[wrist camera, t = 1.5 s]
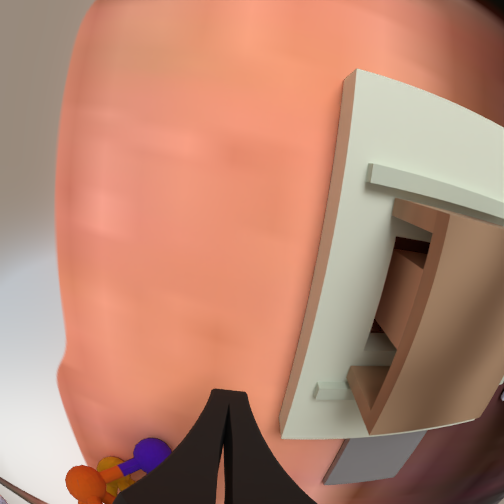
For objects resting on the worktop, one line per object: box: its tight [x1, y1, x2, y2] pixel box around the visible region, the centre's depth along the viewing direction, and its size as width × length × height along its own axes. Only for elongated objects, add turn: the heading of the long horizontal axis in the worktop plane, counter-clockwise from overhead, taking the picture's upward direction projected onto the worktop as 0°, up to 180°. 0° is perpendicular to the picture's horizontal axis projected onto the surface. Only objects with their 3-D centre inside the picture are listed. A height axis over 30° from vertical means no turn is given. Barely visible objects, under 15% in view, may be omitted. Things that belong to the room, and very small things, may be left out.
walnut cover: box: [346, 198, 504, 436], centre depth 12 cm, size 7×9×4 cm
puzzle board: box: [279, 69, 504, 439], centre depth 15 cm, size 16×20×3 cm
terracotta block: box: [375, 249, 428, 349], centre depth 14 cm, size 4×4×5 cm
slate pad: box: [323, 430, 427, 485], centre depth 20 cm, size 7×7×1 cm
